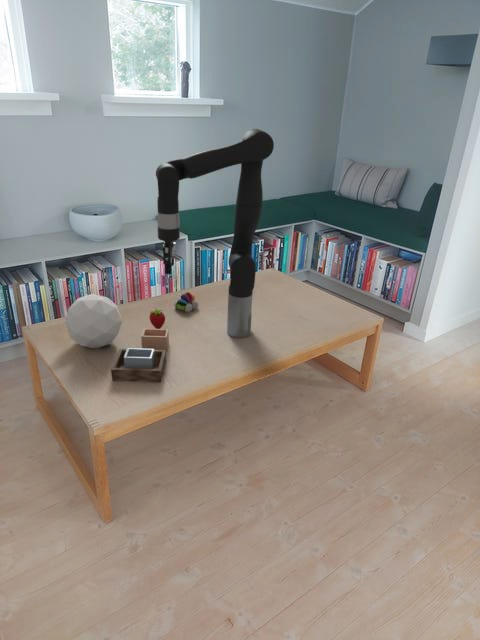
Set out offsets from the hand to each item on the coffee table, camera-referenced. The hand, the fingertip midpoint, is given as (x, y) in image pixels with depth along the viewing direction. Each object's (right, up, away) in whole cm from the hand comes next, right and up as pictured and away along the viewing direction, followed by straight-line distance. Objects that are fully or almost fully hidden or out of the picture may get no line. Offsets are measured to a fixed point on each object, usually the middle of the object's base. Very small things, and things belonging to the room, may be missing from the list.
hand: (169, 269), depth 166 cm
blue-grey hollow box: (-9, -34, -8) cm, 36 cm away
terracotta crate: (-6, -28, +7) cm, 29 cm away
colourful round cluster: (+2, -13, +36) cm, 39 cm away
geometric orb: (-28, -27, +7) cm, 40 cm away
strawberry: (-7, -22, +18) cm, 30 cm away
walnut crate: (-9, -35, -8) cm, 37 cm away
